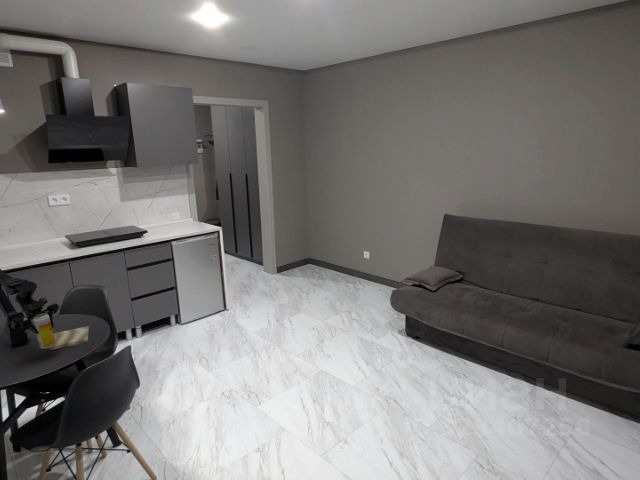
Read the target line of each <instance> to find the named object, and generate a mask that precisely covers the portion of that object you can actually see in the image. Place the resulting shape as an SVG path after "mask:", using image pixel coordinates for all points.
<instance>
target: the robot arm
mask: <svg viewBox="0 0 640 480" xmlns="http://www.w3.org/2000/svg"><path fill="white" fill-rule="evenodd" d="M2 286H3V287H4V289H3V288H2ZM37 288H38V286H37V284H36V282H33V281H31V280H30V281H29V280H28V279H22V278H20V277H16V278H15V277H12V276H11V275H9V274H7V273H6V272H4V271H3V270H2V268H0V310H1V312H2V314H3V315H4V316H5V320H4V321H5V322H4V325H5V327H4V330H3V332H4V334H5V336H8V337H9V339H10V343H11V345H10V348H16V347H22V346H25V345H28V343H29V342H30V336H29V331H31V332H32V333H33V334H36V335H37V334H38V333H39V332H38V331H37V329H36V328H35V326H34V323H33V321H32V320H33V319H34V316H36V315H39V314H43V313H46V314H48V315H49V317H50V322H51V326H52V329H53V328H54V321H53V315H55V314H57V313H58V311H59V309H60V305H59V304H58V303H56V302H54V303H52V304H49V305H47V304H48V299H47V298H46V296H42V297H40V298H39V299H38V300H36V299H34V298H33V297H34V295H35V293H36V291H37ZM6 293H7V294H6ZM8 295H10V296H13V295H15V297H14V301H15V303H17V304H18V305H19V307H20V308H21V311H20V312H19V311H17V309H15V306H14V305H13V303H12V302H11V301H10V299H9V297H8ZM45 305H47V307H46V309H43V308H44V307H45ZM27 330H28V331H27Z"/></svg>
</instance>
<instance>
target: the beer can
mask: <svg viewBox="0 0 640 480" xmlns="http://www.w3.org/2000/svg"><path fill="white" fill-rule="evenodd" d="M32 323H33V325H34V327H35V328H36V329H37V331H38V332H39V333H38V334H36V337H37V341H38V346H39V348H40V349H43V350H46V349H49V348H50V347H52V346H53V345H54V344H55V339H54V335H53V333H54V331H53V328H52V326H51V322H50V317H49V315H48V314H46V313H43V314H39V315H36V316H34V318H33V319H32Z"/></svg>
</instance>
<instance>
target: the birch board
mask: <svg viewBox="0 0 640 480" xmlns="http://www.w3.org/2000/svg"><path fill="white" fill-rule="evenodd" d="M53 335H54V339H55V344H54V345H53V346H52V347H50V348H48V349H49V351H52V350H57V349H63V348H66V347H71V346H75V345H80V344H83V343H84V344H85V343H89V337H90V325H87V326H82V327H77V328H74V329H67V330H63V331H58V332H53Z"/></svg>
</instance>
